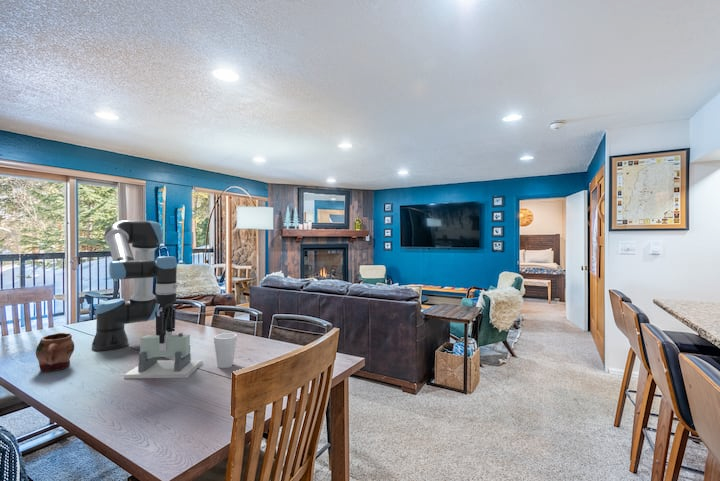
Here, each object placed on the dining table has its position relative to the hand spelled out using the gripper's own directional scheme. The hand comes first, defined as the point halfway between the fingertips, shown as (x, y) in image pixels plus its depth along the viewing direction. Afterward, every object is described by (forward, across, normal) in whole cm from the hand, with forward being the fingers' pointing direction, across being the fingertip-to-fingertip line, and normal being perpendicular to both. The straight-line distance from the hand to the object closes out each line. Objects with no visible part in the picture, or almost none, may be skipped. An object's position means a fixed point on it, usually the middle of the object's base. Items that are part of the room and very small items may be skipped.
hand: (165, 348), depth 147 cm
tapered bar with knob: (+3, 0, 0) cm, 3 cm away
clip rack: (+9, 0, 0) cm, 9 cm away
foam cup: (+9, +5, -23) cm, 25 cm away
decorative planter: (+9, +3, +46) cm, 47 cm away
